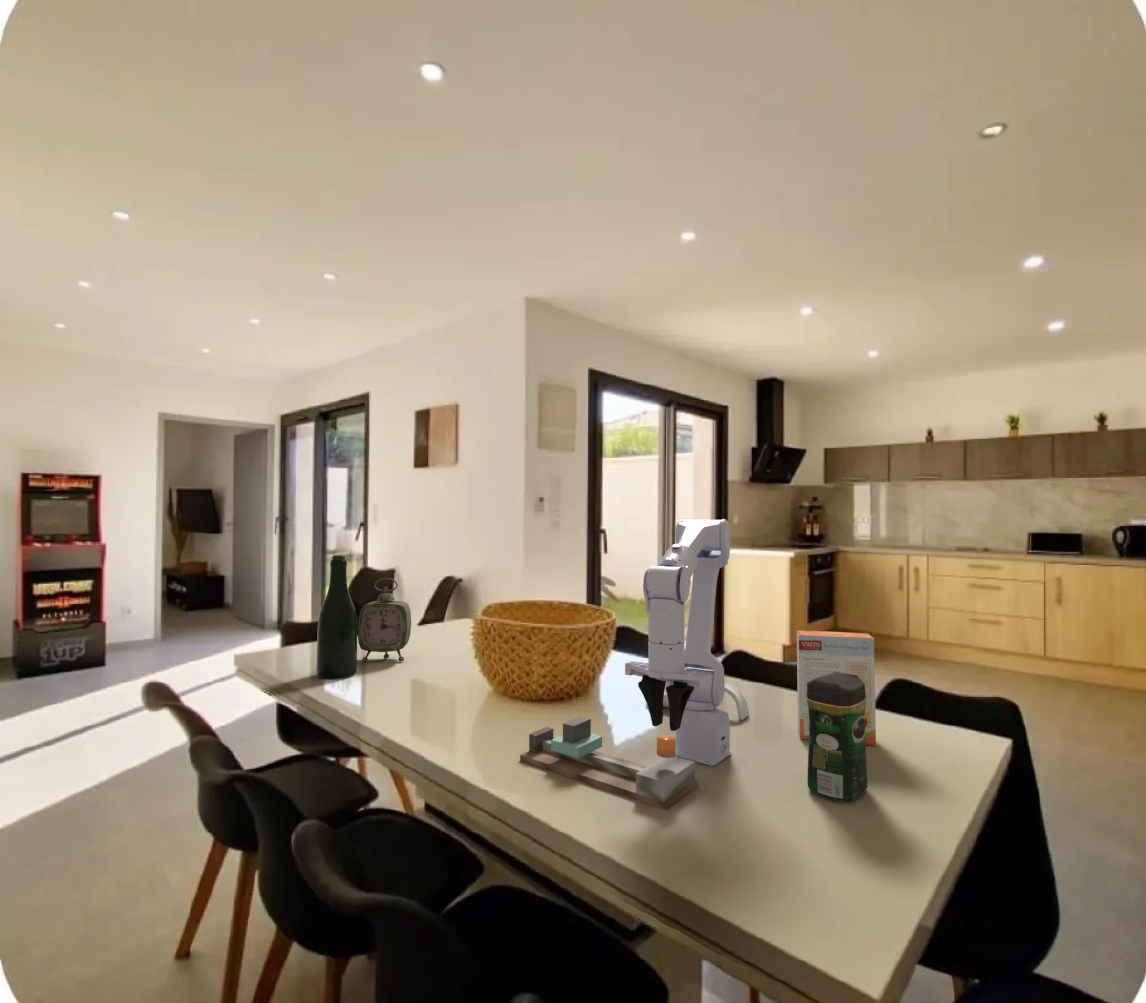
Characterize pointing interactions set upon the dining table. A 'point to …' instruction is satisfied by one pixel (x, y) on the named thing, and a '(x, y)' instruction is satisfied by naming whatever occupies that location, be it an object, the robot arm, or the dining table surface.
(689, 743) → the robot arm
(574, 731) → the carriage
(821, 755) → the coffee jar
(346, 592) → the green wine bottle
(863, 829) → the dining table surface
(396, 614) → the tabletop clock
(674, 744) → the button
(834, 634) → the cracker box
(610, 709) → the dining table surface
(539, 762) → the rail board
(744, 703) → the spoon rest
